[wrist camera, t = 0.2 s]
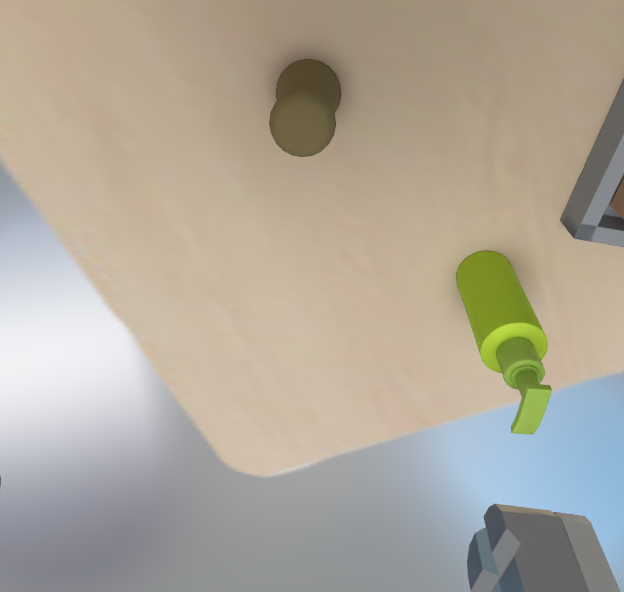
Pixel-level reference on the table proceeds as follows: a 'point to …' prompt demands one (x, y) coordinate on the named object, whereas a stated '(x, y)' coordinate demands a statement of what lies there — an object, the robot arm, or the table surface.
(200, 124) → the table surface
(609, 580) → the robot arm
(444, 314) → the table surface
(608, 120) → the bay
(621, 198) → the tan block with handle
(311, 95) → the pepper mill
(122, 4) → the table surface
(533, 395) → the soap dispenser
